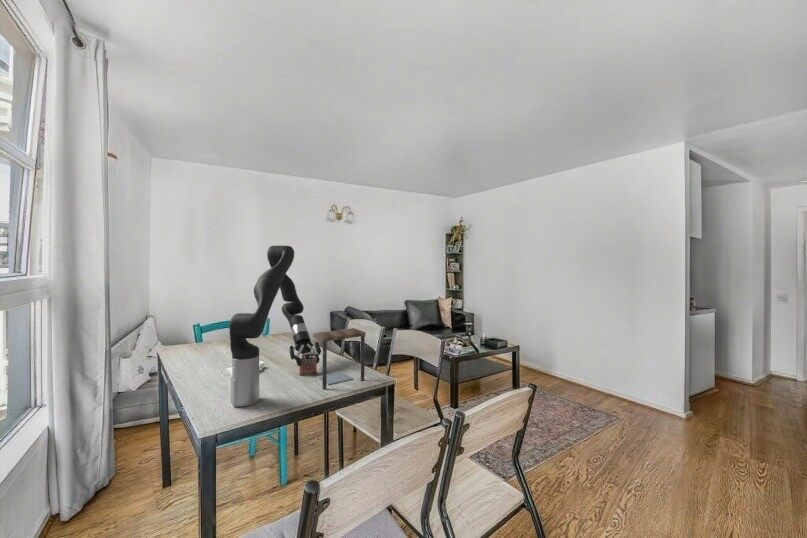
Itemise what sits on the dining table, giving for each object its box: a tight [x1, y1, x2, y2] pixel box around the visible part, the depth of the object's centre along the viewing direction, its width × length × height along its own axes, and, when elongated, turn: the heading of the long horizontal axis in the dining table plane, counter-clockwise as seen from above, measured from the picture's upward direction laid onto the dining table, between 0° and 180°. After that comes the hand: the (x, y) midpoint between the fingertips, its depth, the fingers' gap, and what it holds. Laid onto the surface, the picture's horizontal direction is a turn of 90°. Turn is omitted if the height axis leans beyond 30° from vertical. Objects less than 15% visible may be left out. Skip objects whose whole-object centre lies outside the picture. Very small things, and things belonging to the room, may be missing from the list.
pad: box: [317, 370, 354, 386], centre depth 152 cm, size 12×12×1 cm
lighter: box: [298, 353, 318, 377], centre depth 157 cm, size 8×3×10 cm, turn 105°
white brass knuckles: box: [222, 360, 265, 378], centre depth 159 cm, size 3×18×15 cm
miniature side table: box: [312, 327, 367, 390], centre depth 148 cm, size 20×11×22 cm, turn 126°
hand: (309, 364), depth 156 cm, fingers closed on lighter, 8 cm apart
